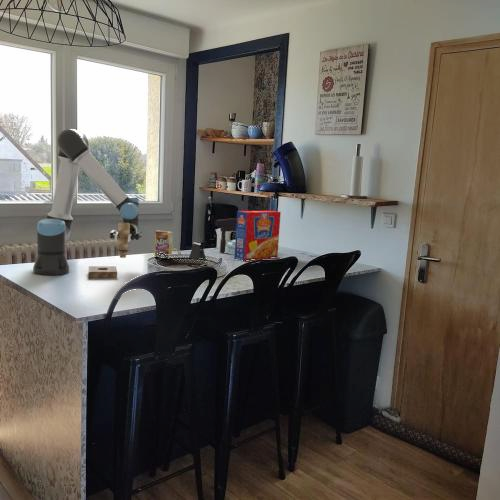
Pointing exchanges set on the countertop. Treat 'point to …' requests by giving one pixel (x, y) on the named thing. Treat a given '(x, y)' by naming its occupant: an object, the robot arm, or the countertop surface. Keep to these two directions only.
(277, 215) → the pasta box
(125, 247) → the leg
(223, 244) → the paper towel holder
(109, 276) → the board
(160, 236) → the candy box
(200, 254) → the door stopper
